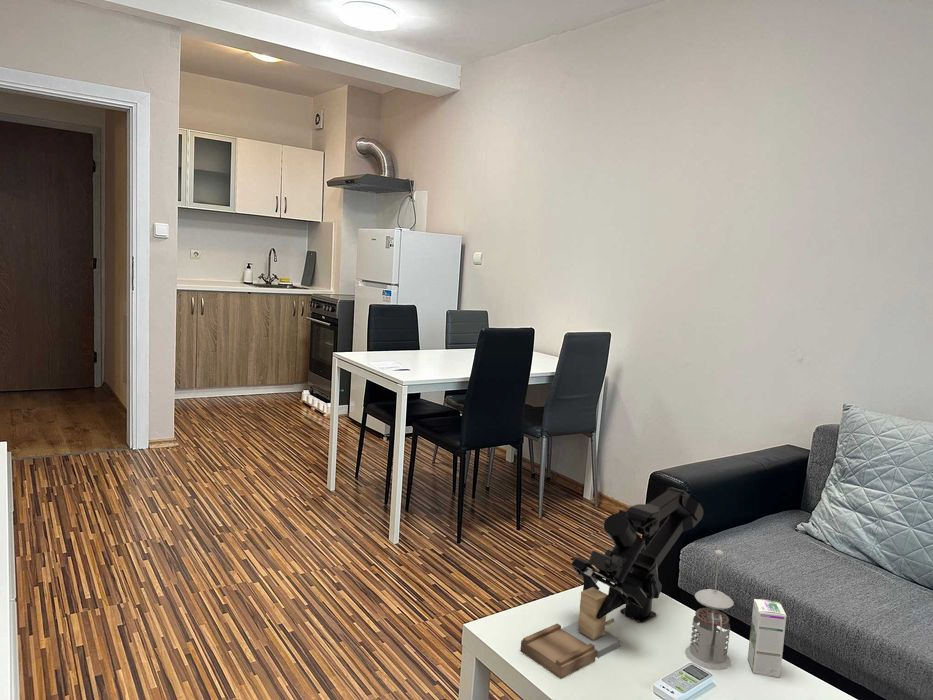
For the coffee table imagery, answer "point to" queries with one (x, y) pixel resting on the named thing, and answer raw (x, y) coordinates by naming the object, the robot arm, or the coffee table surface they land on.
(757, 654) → the syrup box
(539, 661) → the walnut shelf lane
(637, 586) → the robot arm
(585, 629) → the oak mallet
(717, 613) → the french press
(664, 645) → the coffee table surface
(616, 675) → the coffee table surface
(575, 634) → the grey rubber pad
